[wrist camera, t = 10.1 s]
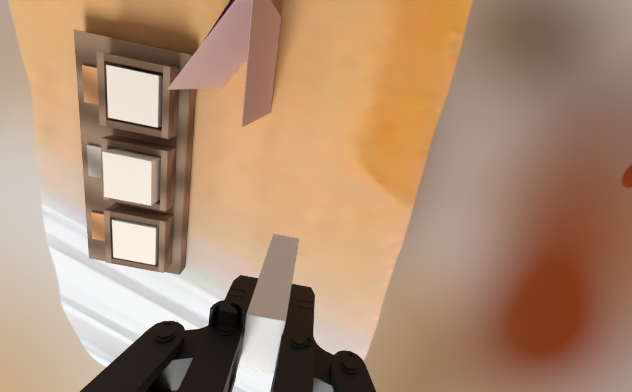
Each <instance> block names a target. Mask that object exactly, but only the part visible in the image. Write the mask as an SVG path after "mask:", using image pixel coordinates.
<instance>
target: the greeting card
mask: <svg viewBox="0 0 632 392" xmlns="http://www.w3.org/2000/svg"><path fill="white" fill-rule="evenodd" d="M280 26H281V16H280V14H279V12H278V11H277V9H276V8H275V6H274V4H273V3H272V1H271V0H230V2H229V3H228V5H227V6H226V8H225V9H224V11H223V12H222V14H221V16H220V17H219V19H218V20H217V22H216V23H215V25H214V26H213V28H212V29H211V31H210V32H209V34H208V35H207V37H206V38H205V40H204V41H203V43H202V44H201V46H200V47H199V48H198V49H197V51H196V52H195V53H194V55H193V56H192V57H191V59H190V60H189V61H188V63H187V64H186V65H185V67H184V68H183V69H182V70H181V72H180V73H179V74H178V76H177V77H176V78H175V80H174V81H173V82H172V84H171V85H170V86H169V88H168V89H167V90H174V89H215V88H224V87H225V85H226V84H227V83H228V82H229V80H230V79H231V78H232V77H233V76H234V74H235V73H236V72H237V71H238V70H239V68H240V67H241V66H242V65H243V63H244V62H245V61H246V60H247V70H246V82H245V93H244V105H243V117H242V127H243V126H245V125H247V124H249V123H251V122H253V121H255V120H257V119H259V118H261V117H263V116H265V115H267V114H269V113H271V104H272V96H273V87H274V78H275V70H276V61H277V52H278V43H279V35H280Z"/></svg>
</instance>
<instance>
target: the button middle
mask: <svg viewBox="0 0 632 392" xmlns="http://www.w3.org/2000/svg"><path fill="white" fill-rule="evenodd" d="M102 159H103V182H104V197H108V198H113V199H118V200H123V201H129V202H134V203H139V204H144V205H149V206H151V205H153V204H154V203H156V202H157V201H159V200H160V181H161V157H159V156H154V155H149V154H143V153H138V152H133V151H128V150H123V149H118V148H113V149H109V150H106V151H102Z"/></svg>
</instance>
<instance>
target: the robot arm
mask: <svg viewBox="0 0 632 392" xmlns="http://www.w3.org/2000/svg"><path fill="white" fill-rule="evenodd" d="M298 243H299V239H298V238H293V237H287V236H282V235H277V234H273V237H272V240H271V243H270V246H269V249H268V252H267V255H266V258H265V261H264V264H263V267H262V270H261V273H260V276H259V278H253V277H248V276H242V275H240V276H239V277H238V278H236V279H235V280H234V281H233V283H232V285H231V287H230V290H229V291H228V294H227V296H226V298H225V300H223V301H219V302H217V303H216V304H214V305H213V306H212V307H211V308H210V316H209V325H208V326H206V327H204V328H201V329H195V330H185V329H184V327H183V325H181V324H180V323H178V322H174V321H163V322H160V323H157V324H155V325H154V326H152V327H151V328H149V329H148V330H147V331H146V332H145V333H144V334H143V335H142V336H141V337H140V338H138V339H137V340H136V341H135V342H134V343H133V344H132V345H131V346H130V347H128V348H127V349H126V350H125V351H124V352H123V353H122V354H121V355H120V356H119V357H117V358H116V359H115V360H114V361H113V362H112V363H111V364H110V365H109V366H108V367H106V368H105V369H104V370H103V371H102V372H101V373H100V374H99V375H98V376H96V377H95V378H94V379H93V380H92V381H91V382H90V383H89V384H88V385H87V386H86V387H84V388H83V389H82V390H81V391H80V392H232V389H233V386H234V383H235V378H236V372H237V368H238V367H240V368H245V369H251V370H257V371H263V372H269V373H274V377H273V382H272V387H271V391H270V392H376V391H375V388H374V385H373V383H372V380H371V378H370V375H369V373H368V370H367V368H366V365H365V364H364V362H363V360H362V359H361V358H360V357H359V356H358V355H357V354H355V353H353V352H351V351H339V352H337V353H336V354H335V355H333V354H331V353H328V352H326V351H325V350H323V349H322V348H320V347H319V346H318V345H317V343H316V342H315V340H314V337H313V324H314V301H315V294H314V292H313V290H312V288H311V287H306V286H301V285H295V284H292V280H293V273H294V267H295V261H296V255H297V249H298ZM238 365H239V366H238Z"/></svg>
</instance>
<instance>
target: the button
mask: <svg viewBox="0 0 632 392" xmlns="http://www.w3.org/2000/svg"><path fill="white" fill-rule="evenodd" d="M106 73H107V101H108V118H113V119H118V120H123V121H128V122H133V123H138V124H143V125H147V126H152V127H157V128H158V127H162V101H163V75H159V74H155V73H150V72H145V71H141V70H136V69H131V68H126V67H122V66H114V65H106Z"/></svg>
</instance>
